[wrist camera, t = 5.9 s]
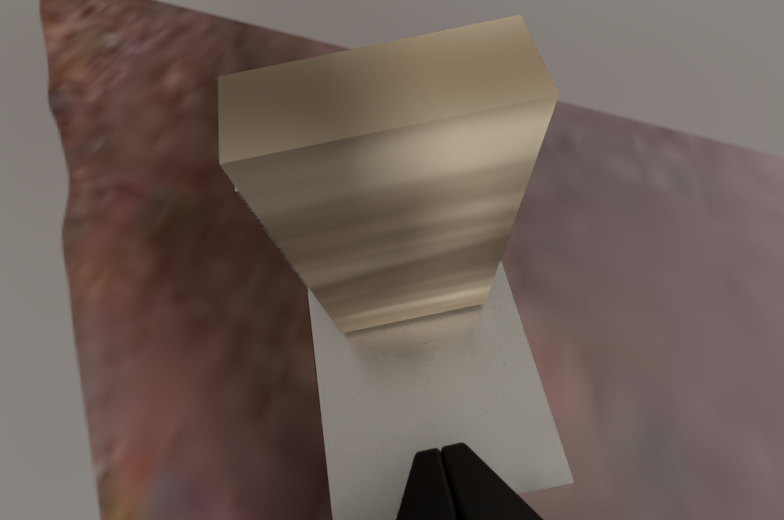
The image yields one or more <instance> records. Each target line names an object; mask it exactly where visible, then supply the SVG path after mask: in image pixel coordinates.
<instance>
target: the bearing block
mask: <svg viewBox="0 0 784 520" xmlns="http://www.w3.org/2000/svg"><path fill="white" fill-rule="evenodd" d="M235 192H236V194H237V195H238V196H239V198H240V199H241V201H242V202H243V203H244V205H245V206H246V207H247V209H248V210H249V211H250V213H251V214H252V215H253V217H254V218H255V219H256V221H257V222H258V223H259V225H260V226H261V228H262V229H263V230H264V232H265V233H266V234H267V236H268V237H269V238H270V240H271V241H272V242H273V244H274V245H275V246H276V248H277V249H278V251H279V252H280V253H281V255H282V256H283V257H284V259H285V260H286V261H287V263H288V264H289V265H290V267H291V268H292V269H293V271H294V272H295V273H296V275H297V276H298V278H299V279H300V280H301V282H302V283H303V284H304V286H305V287H306V288H307V290H308V299H309V308H310V317H311V326H312V335H313V344H314V353H315V362H316V372H317V381H318V390H319V399H320V408H321V417H322V426H323V435H324V444H325V454H326V463H327V472H328V481H329V490H330V499H331V508H332V517H333V520H396V518H397V514H398V511H399V507H400V504H401V500H402V497H403V493H404V490H405V486H406V483H407V479H408V476H409V472H410V469H411V465H412V462H413V458H414V456H415V454H416V453H417V452H418V451H422V450H427V449H432V448H438V449H439V450H440V452H441V448H442V447H443V446H446V445H451V444H455V443H460V442H463V443H465V444H466V445H468V446H469V447H470V448H471V449H472V450H473V451H474V452H475V453H476V454H477V455H478V456H479V457H480V458H481V459H482V460H483V461H484V462H485V463H486V464H487V465H488V466H489V467H490V468H491V469H492V470H493V471H494V472H495V473H496V474H497V475H498V476H499V477H500V478H501V479H502V480H503V481H504V482H505V483H506V484H507V485H509V486H510V487H511V488H512V489H513V490H514V491H515V492H516V493H517V494H521V493H526V492H531V491H536V490H541V489H545V488H550V487H555V486H560V485H565V484H569V483H574V481H573V478H572V474H571V471H570V468H569V465H568V462H567V459H566V456H565V453H564V450H563V447H562V444H561V441H560V438H559V435H558V432H557V429H556V426H555V423H554V420H553V417H552V414H551V411H550V408H549V405H548V402H547V399H546V396H545V393H544V390H543V387H542V383H541V380H540V377H539V374H538V371H537V368H536V365H535V362H534V359H533V356H532V353H531V350H530V347H529V344H528V341H527V338H526V335H525V332H524V329H523V326H522V323H521V320H520V317H519V314H518V311H517V308H516V305H515V302H514V299H513V295H512V292H511V289H510V286H509V283H508V280H507V277H506V274H505V271H504V268H503V265H502V262H501V260H500V263H499V266H498V269H497V271H496V274H495V277H494V280H493V283H492V286H491V288H490V291H489V294H488V297H487V300H486V303H484V304H480V305H475V306H470V307H465V308H460V309H455V310H451V311H446V312H441V313H436V314H431V315H426V316H421V317H417V318H412V319H407V320H402V321H397V322H392V323H388V324H383V325H378V326H373V327H368V328H363V329H359V330H354V331H349V332H344V333H341V332H340V330H339V329H338V328H337V326H336V325H335V323H334V322H333V321H332V319H331V318H330V317H329V315H328V314H327V312H326V311H325V310H324V308H323V307H322V305H321V304H320V303H319V301H318V300H317V299H316V297H315V296H314V294H313V293H312V292H311V290H310V289H309V288H308V286H307V285H306V283H305V282H304V281H303V279H302V278H301V277H300V275H299V274H298V272H297V271H296V270H295V268H294V267H293V265H292V264H291V263H290V261H289V260H288V259H287V257H286V256H285V254H284V253H283V252H282V250H281V249H280V248H279V246H278V245H277V243H276V242H275V241H274V239H273V238H272V236H271V235H270V234H269V232H268V231H267V230H266V228H265V227H264V225H263V224H262V223H261V221H260V220H259V219H258V217H257V216H256V214H255V213H254V212H253V210H252V209H251V208H250V206H249V205H248V203H247V202H246V201H245V199H244V198H243V196H242V195H241V194H240V192H239V191H238V190H237V188H236V187H235Z"/></svg>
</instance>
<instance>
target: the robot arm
mask: <svg viewBox="0 0 784 520" xmlns="http://www.w3.org/2000/svg"><path fill="white" fill-rule="evenodd" d="M396 520H543V519H542V518H541V517H540V516H539V515H538V514H537V513H536V512H535V511H534V510H533V509H532V508H531V507H530V506H529V505H528V504H527V503H526V502H525V501H524V500H523V499H522V498H521V497H520V496H519V495H518V494H517V493H516V492H515V491H514V490H513V489H512V488H511V487H510V486H509V485H507V484H506V483H505V482H504V481H503V480H502V479H501V478H500V477H499V476H498V475H497V474H496V473H495V472H494V471H493V470H492V469H491V468H490V467H489V466H488V465H487V464H486V463H485V462H484V461H483V460H482V459H481V458H480V457H479V456H478V455H477V454H476V453H475V452H474V451H473V450H472V449H471V448H470V447H469V446H468V445H466V444H465V443H463V442H460V443H455V444H451V445H446V446H443V447H442V448H441V452H440V450H439V449H438V448H432V449H427V450H422V451H418V452H417V453H416V454H415V456H414V458H413V462H412V465H411V469H410V472H409V476H408V479H407V483H406V486H405V490H404V493H403V497H402V500H401V504H400V507H399V511H398V514H397V518H396Z"/></svg>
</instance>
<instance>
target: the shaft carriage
mask: <svg viewBox="0 0 784 520" xmlns="http://www.w3.org/2000/svg"><path fill="white" fill-rule="evenodd" d="M558 96H559V93H558V91H557V89H556V87H555V85H554V83H553V81H552V79H551V77H550V75H549V73H548V71H547V68H546V67H545V64H544V62H543V60H542V58H541V56H540V54H539V52H538V50H537V48H536V46H535V44H534V42H533V40H532V38H531V36H530V33H529V31H528V29H527V27H526V25H525V23H524V21H523V19H522V17H521V15H518V16H512V17H507V18H502V19H498V20H493V21H488V22H483V23H478V24H473V25H468V26H463V27H458V28H454V29H449V30H444V31H439V32H434V33H429V34H424V35H419V36H414V37H410V38H405V39H400V40H395V41H390V42H385V43H380V44H375V45H371V46H365V47H361V48H356V49H351V50H346V51H341V52H336V53H331V54H326V55H321V56H317V57H312V58H307V59H302V60H297V61H292V62H287V63H282V64H277V65H273V66H268V67H263V68H258V69H253V70H248V71H243V72H238V73H233V74H228V75H224V76H219V77H218V127H219V165H220V166H221V168H222V169H223V170H224V172H225V173H226V174H227V176H228V177H229V179H230V180H231V181H232V183H233V184H234V185H235V187H236V188H237V190H238V191H239V192H240V194H241V195H242V196H243V198H244V199H245V201H246V202H247V203H248V205H249V206H250V208H251V209H252V210H253V212H254V213H255V214H256V216H257V217H258V219H259V220H260V221H261V223H262V224H263V225H264V227H265V228H266V230H267V231H268V232H269V234H270V235H271V236H272V238H273V239H274V241H275V242H276V243H277V245H278V246H279V248H280V249H281V250H282V252H283V253H284V254H285V256H286V257H287V259H288V260H289V261H290V263H291V264H292V265H293V267H294V268H295V270H296V271H297V272H298V274H299V275H300V277H301V278H302V279H303V281H304V282H305V283H306V285H307V286H308V288H309V289H310V290H311V292H312V293H313V294H314V296H315V297H316V299H317V300H318V301H319V303H320V304H321V305H322V307H323V308H324V310H325V311H326V312H327V314H328V315H329V317H330V318H331V319H332V321H333V322H334V323H335V325H336V326H337V328H338V329H339V330H340V332H341V333H344V332H349V331H354V330H359V329H363V328H368V327H373V326H378V325H383V324H388V323H392V322H397V321H402V320H407V319H412V318H417V317H421V316H426V315H431V314H436V313H441V312H446V311H451V310H455V309H460V308H465V307H470V306H475V305H480V304H484V303H486V300H487V297H488V294H489V291H490V288H491V286H492V283H493V280H494V277H495V274H496V271H497V269H498V266H499V263H500V260H501V257H502V254H503V252H504V249H505V246H506V243H507V240H508V238H509V235H510V232H511V229H512V226H513V223H514V221H515V218H516V215H517V212H518V209H519V206H520V204H521V201H522V198H523V195H524V192H525V189H526V187H527V184H528V181H529V178H530V175H531V172H532V170H533V167H534V164H535V161H536V158H537V156H538V153H539V150H540V147H541V144H542V141H543V139H544V136H545V133H546V130H547V127H548V124H549V122H550V119H551V116H552V113H553V110H554V107H555V105H556V102H557V99H558Z"/></svg>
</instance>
